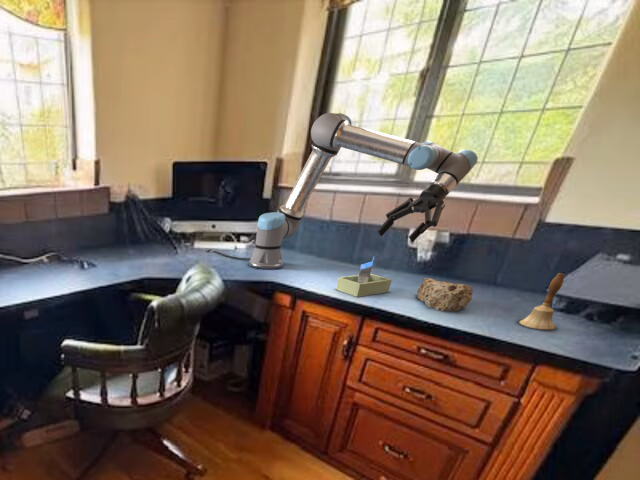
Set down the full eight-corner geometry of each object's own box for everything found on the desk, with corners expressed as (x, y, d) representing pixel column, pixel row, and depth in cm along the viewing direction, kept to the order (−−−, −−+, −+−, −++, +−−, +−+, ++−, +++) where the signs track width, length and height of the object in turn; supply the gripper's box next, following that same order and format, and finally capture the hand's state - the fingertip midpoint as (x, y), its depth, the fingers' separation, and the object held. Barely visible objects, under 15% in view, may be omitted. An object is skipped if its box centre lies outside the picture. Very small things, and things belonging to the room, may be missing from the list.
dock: (335, 289, 167) (338, 277, 164) (366, 284, 171) (369, 273, 169) (356, 296, 158) (360, 284, 155) (388, 291, 162) (392, 279, 160)
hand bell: (514, 319, 134) (536, 269, 126) (545, 321, 132) (570, 270, 124) (527, 329, 127) (551, 276, 119) (560, 331, 125) (588, 278, 117)
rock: (407, 295, 160) (421, 270, 155) (447, 307, 157) (463, 281, 153) (424, 307, 142) (441, 278, 137) (470, 320, 139) (488, 291, 135)
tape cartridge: (355, 285, 168) (363, 253, 162) (366, 286, 167) (374, 254, 161) (354, 291, 161) (362, 258, 155) (366, 292, 160) (374, 259, 154)
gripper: (474, 200, 146) (428, 249, 149) (410, 195, 167) (371, 237, 170) (468, 184, 142) (422, 234, 145) (404, 181, 163) (364, 225, 166)
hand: (394, 236), depth 158 cm, fingers open, 13 cm apart
